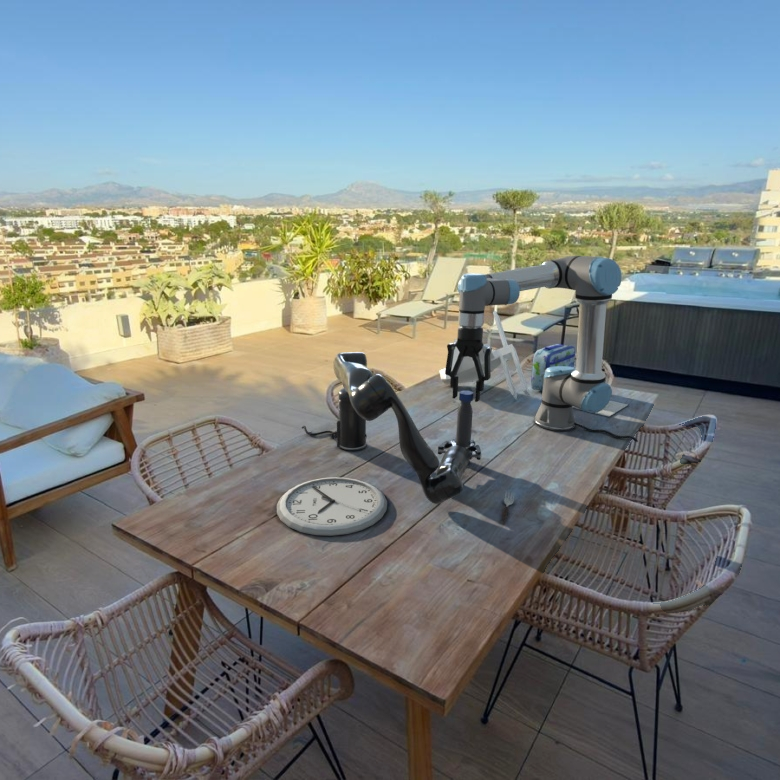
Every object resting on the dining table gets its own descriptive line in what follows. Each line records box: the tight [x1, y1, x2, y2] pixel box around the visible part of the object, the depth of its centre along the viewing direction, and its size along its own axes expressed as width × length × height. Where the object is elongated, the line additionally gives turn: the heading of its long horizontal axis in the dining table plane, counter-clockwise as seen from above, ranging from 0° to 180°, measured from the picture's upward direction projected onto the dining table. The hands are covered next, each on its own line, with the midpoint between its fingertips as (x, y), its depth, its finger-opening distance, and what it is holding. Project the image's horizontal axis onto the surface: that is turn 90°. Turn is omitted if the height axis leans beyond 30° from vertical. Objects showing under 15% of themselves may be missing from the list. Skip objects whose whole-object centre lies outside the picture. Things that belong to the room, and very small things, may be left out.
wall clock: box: [276, 476, 388, 537], centre depth 142 cm, size 30×2×30 cm
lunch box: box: [530, 343, 576, 392], centre depth 248 cm, size 26×11×21 cm, turn 134°
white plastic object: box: [438, 310, 531, 400], centre depth 245 cm, size 37×45×31 cm
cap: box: [458, 390, 474, 402], centre depth 164 cm, size 4×4×2 cm
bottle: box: [455, 401, 474, 465], centre depth 167 cm, size 5×5×23 cm
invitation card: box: [573, 400, 629, 418], centre depth 226 cm, size 21×1×15 cm
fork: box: [501, 490, 516, 524], centre depth 141 cm, size 3×16×2 cm, turn 160°
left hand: (464, 441), depth 171 cm, fingers closed on bottle, 4 cm apart
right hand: (466, 398), depth 164 cm, fingers open, 7 cm apart
